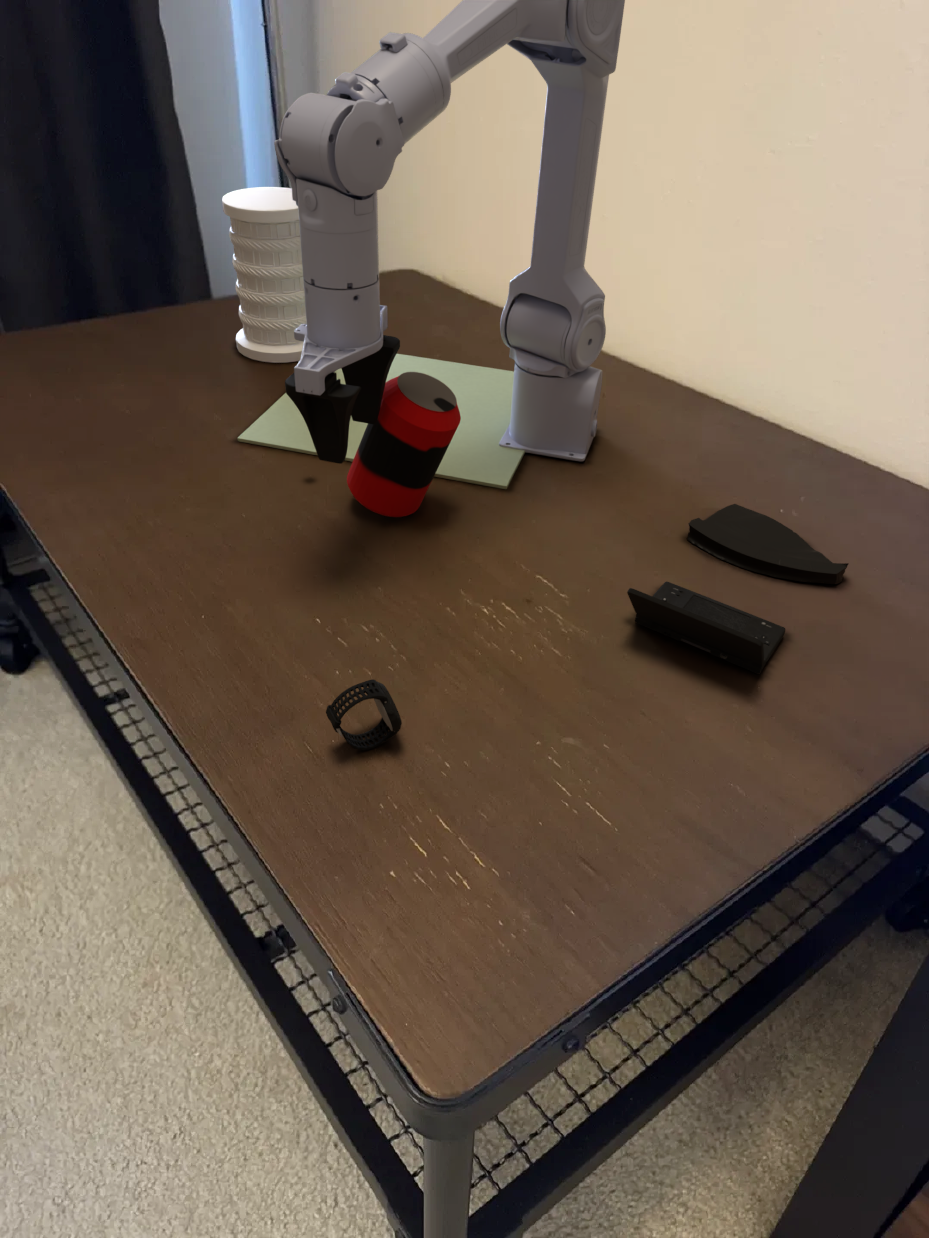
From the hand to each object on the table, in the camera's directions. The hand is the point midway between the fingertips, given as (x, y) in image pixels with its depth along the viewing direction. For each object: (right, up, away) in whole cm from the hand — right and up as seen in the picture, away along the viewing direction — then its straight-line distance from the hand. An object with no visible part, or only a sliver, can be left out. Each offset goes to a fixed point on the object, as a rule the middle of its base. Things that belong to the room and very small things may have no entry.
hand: (349, 440), depth 77 cm
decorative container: (-14, +21, +42) cm, 49 cm away
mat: (+4, +9, +29) cm, 30 cm away
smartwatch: (+3, -24, -13) cm, 27 cm away
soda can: (+2, -3, +11) cm, 12 cm away
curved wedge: (+37, -9, +8) cm, 39 cm away
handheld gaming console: (+29, -17, -3) cm, 34 cm away
